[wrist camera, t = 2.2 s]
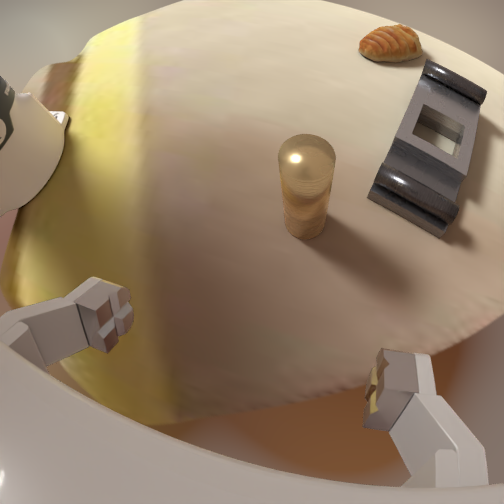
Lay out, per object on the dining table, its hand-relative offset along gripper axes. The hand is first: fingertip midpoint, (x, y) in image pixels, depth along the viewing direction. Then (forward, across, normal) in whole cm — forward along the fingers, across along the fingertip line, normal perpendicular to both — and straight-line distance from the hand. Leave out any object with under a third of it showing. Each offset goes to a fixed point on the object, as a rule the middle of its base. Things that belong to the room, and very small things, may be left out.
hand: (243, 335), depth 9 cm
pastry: (+41, -7, -16) cm, 45 cm away
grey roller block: (+29, -12, -4) cm, 31 cm away
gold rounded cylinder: (+20, +1, +4) cm, 21 cm away
